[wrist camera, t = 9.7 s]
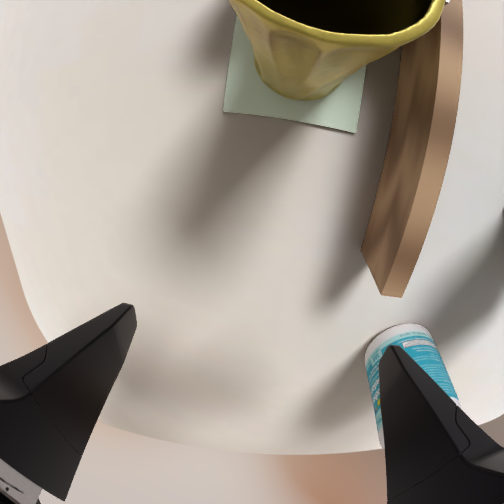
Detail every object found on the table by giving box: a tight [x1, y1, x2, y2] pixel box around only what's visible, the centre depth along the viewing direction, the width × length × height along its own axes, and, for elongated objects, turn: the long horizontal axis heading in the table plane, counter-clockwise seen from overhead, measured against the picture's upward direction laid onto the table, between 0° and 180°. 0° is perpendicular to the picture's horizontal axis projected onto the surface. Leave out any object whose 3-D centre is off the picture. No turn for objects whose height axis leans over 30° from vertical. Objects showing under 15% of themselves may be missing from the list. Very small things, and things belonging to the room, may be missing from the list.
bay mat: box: [223, 14, 366, 133], centre depth 16 cm, size 9×9×1 cm
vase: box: [228, 0, 446, 101], centre depth 9 cm, size 6×6×14 cm
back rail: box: [361, 0, 463, 298], centre depth 14 cm, size 20×2×6 cm, turn 173°
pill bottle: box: [365, 323, 461, 450], centre depth 20 cm, size 8×7×14 cm
